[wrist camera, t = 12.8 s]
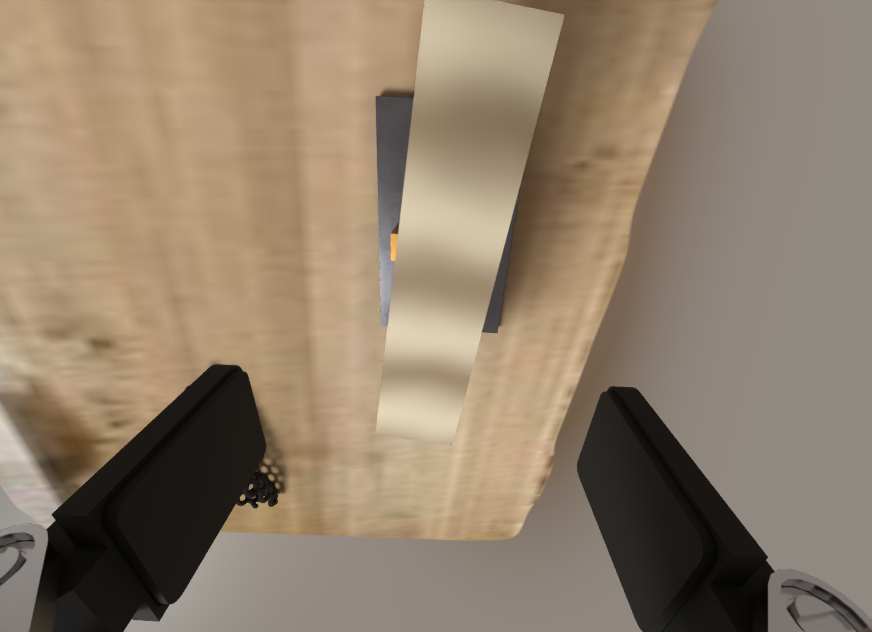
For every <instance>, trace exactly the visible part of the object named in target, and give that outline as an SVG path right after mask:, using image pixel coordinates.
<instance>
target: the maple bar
mask: <svg viewBox="0 0 872 632" xmlns="http://www.w3.org/2000/svg"><path fill="white" fill-rule="evenodd" d="M564 16H565V15H564V14H559V13H554V12H549V11H544V10H540V9H535V8H530V7H525V6H520V5H515V4H511V3H506V2H501V1H496V0H425V3H424V12H423V21H422V29H421V38H420V47H419V56H418V64H417V73H416V82H415V91H414V100H413V108H412V117H411V126H410V135H409V144H408V152H407V161H406V170H405V179H404V188H403V196H402V205H401V214H400V223H399V232H398V240H397V249H396V258H395V267H394V276H393V284H392V293H391V302H390V311H389V320H388V328H387V337H386V346H385V355H384V364H383V372H382V381H381V390H380V399H379V408H378V416H377V425H376V434H375V435H381V436H388V437H395V438H402V439H409V440H415V441H422V442H429V443H436V444H443V445H450V446H452V444H453V440H454V436H455V432H456V429H457V425H458V421H459V417H460V413H461V409H462V406H463V402H464V398H465V394H466V390H467V387H468V383H469V379H470V375H471V371H472V367H473V364H474V360H475V356H476V352H477V348H478V344H479V341H480V337H481V333H482V329H483V325H484V322H485V318H486V314H487V310H488V306H489V302H490V299H491V295H492V291H493V287H494V283H495V280H496V276H497V272H498V268H499V264H500V260H501V257H502V253H503V249H504V245H505V241H506V237H507V234H508V230H509V226H510V222H511V218H512V215H513V211H514V207H515V203H516V199H517V195H518V192H519V188H520V184H521V180H522V176H523V173H524V169H525V165H526V161H527V157H528V153H529V150H530V146H531V142H532V138H533V134H534V131H535V127H536V123H537V119H538V115H539V111H540V108H541V104H542V100H543V96H544V92H545V88H546V85H547V81H548V77H549V73H550V69H551V66H552V62H553V58H554V54H555V50H556V46H557V43H558V39H559V35H560V31H561V27H562V24H563V20H564Z"/></svg>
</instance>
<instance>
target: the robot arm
mask: <svg viewBox="0 0 872 632" xmlns="http://www.w3.org/2000/svg"><path fill="white" fill-rule="evenodd" d="M265 450H266V442H265V438H264V435H263V431H262V427H261V423H260V419H259V415H258V412H257V408H256V404H255V400H254V396H253V392H252V389H251V385H250V381H249V377H248V374H247V373H246V372H244V371H242V369H241V368H240V367H239V366H237V365H220V364H215V365H212V366H211V367H209V368H208V369H207V370H206V371H205V372H204V373H203V374H202V375H201V376H200V377H199V378H198V379H196V380H195V381H194V382H193V383H192V384H191V385H190V386H189V387H188V388H187V389H186V390H185V391H184V392H183V393H181V394H180V395H179V396H178V397H177V398H176V399H175V400H174V401H173V402H172V403H171V404H170V405H169V406H167V407H166V408H165V409H164V410H163V411H162V412H161V413H160V414H159V415H158V416H157V417H156V418H155V419H153V420H152V421H151V422H150V423H149V424H148V425H147V426H146V427H145V428H144V429H143V430H142V431H141V432H140V433H138V434H137V435H136V436H135V437H134V438H133V439H132V440H131V441H130V442H129V443H128V444H127V445H126V446H124V447H123V448H122V449H121V450H120V451H119V452H118V453H117V454H116V455H115V456H114V457H113V458H112V459H111V460H109V461H108V462H107V463H106V464H105V465H104V466H103V467H102V468H101V469H100V470H99V471H98V472H97V473H95V474H94V475H93V476H92V477H91V478H90V479H89V480H88V481H87V482H86V483H85V484H84V485H83V486H81V487H80V488H79V489H78V490H77V491H76V492H75V493H74V494H73V495H72V496H71V497H70V498H69V499H68V500H66V501H65V502H64V503H63V504H62V505H61V506H60V507H59V508H58V509H57V510H56V511H55V512H54V513H52V514H51V515H52V516H53V517H54V519H55V520H56V521H55V522H54V523H53V524H52V525H51V526H50V527H48V528H47V529H45V528H44V527H42V526H41V525H37V524H31V523H29V524H21V525H15V526H11V527H8V528H5V529H2V530H0V632H123V631H124V630H125V628H126V627H127V625H128V624H129V622H130V621H131V619H133V620H145V621H160V619H161V618H162V616H163V614H164V613H165V611H166V610H167V608H168V606H169V605H170V604H173V603H175V602H176V601H177V600H178V599H179V598H180V597H181V595H182V594H183V592H184V590H185V589H186V587H187V585H188V584H189V582H190V580H191V579H192V577H193V575H194V574H195V572H196V570H197V569H198V566H199V565H200V563H201V562H202V560H203V558H204V556H205V555H206V553H207V552H208V550H209V548H210V547H211V545H212V543H213V541H214V540H215V538H216V536H217V535H218V533H219V531H220V530H221V528H222V526H223V525H224V523H225V521H226V520H227V518H228V516H229V514H230V513H231V511H232V509H233V508H234V506H235V504H236V503H237V501H238V499H239V498H240V496H241V494H242V493H243V491H244V489H245V487H246V486H247V484H248V482H249V481H250V479H251V477H252V476H253V474H254V472H255V471H256V469H257V467H258V466H259V464H260V462H261V460H262V459H263V457H264V454H265ZM577 471H578V475H579V478H580V481H581V483H582V485H583V488H584V491H585V493H586V496H587V498H588V501H589V503H590V506H591V508H592V511H593V513H594V516H595V518H596V521H597V523H598V526H599V529H600V531H601V534H602V536H603V539H604V541H605V544H606V546H607V549H608V551H609V554H610V557H611V559H612V562H613V564H614V567H615V569H616V572H617V574H618V577H619V579H620V582H621V584H622V587H623V589H624V592H625V594H626V597H627V599H628V602H629V604H630V607H631V609H632V612H633V615H634V617H635V620H636V622H637V624H638V626H639V628H640V629H641V630H642V631H643V632H872V619H871V618H870V617H869V616H868V615H867V614H866V613H865V612H864V611H863V610H862V609H861V608H860V607H858V606H857V605H856V604H855V603H853V602H852V601H851V600H850V599H848V598H847V597H846V596H845V595H844V594H842V593H841V592H839V591H838V590H836V589H835V588H833V587H832V586H830V585H828V584H827V583H825V582H824V581H822V580H820V579H817V578H815V577H813V576H811V575H809V574H807V573H804V572H800V571H796V570H792V569H778V570H777V571H774V570H773V569H772V568H771V566H770V565H769V564H768V562H767V561H766V559H767V558H768V556H767V555H766V554H765V553H764V551H763V550H762V549H761V548H760V546H759V545H758V544H757V542H756V541H755V540H754V538H753V537H752V536H751V535H750V533H749V532H748V531H747V530H746V529H745V527H744V526H743V524H742V523H741V522H740V520H739V519H738V518H737V517H736V515H735V514H734V513H733V511H732V510H731V509H730V508H729V507H728V505H727V504H726V502H725V501H724V500H723V499H722V497H721V496H720V495H719V493H718V492H717V491H716V490H715V488H714V487H713V486H712V485H711V483H710V482H709V481H708V479H707V478H706V477H705V475H704V474H703V473H702V472H701V470H700V469H699V468H698V466H697V465H696V464H695V463H694V461H693V460H692V459H691V457H690V456H689V455H688V454H687V452H686V451H685V450H684V449H683V447H682V446H681V445H680V443H679V442H678V441H677V439H676V438H675V437H674V436H673V434H672V433H671V432H670V430H669V429H668V428H667V427H666V425H665V424H664V423H663V421H662V420H661V419H660V418H659V416H658V415H657V414H656V412H655V411H654V410H653V408H652V407H651V406H650V405H649V403H648V402H647V401H646V400H645V398H644V397H643V396H642V394H641V393H640V392H639V391H638V390H637V389H636V388H633V387H615V386H612V387H610V388H609V389H608V390H607V392H603V393H602V394H601V395H600V398H599V401H598V404H597V407H596V410H595V413H594V415H593V418H592V421H591V424H590V427H589V430H588V433H587V436H586V439H585V442H584V445H583V448H582V451H581V453H580V456H579V459H578V463H577Z"/></svg>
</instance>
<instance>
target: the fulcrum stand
mask: <svg viewBox="0 0 872 632" xmlns="http://www.w3.org/2000/svg"><path fill="white" fill-rule="evenodd" d="M413 100H414V98H401V97H384V96H376V130H377V171H378V213H379V254H380V296H381V326H388V320H389V311H390V302H391V293H392V284H393V276H394V267H395V258H396V249H397V240H398V232H399V223H400V214H401V205H402V196H403V188H404V179H405V170H406V161H407V152H408V144H409V135H410V126H411V117H412V108H413ZM519 191H520V188H519ZM518 197H519V192H518V195H517V199H516V203H515V207H514V211H513V215H512V218H511V222H510V226H509V230H508V234H507V237H506V241H505V245H504V249H503V253H502V257H501V260H500V264H499V268H498V272H497V276H496V280H495V283H494V287H493V291H492V295H491V299H490V302H489V306H488V310H487V314H486V318H485V322H484V325H483V329H482V332H486V333H497V332H498V325H499V319H500V313H501V306H502V300H503V293H504V287H505V281H506V274H507V268H508V261H509V255H510V248H511V242H512V236H513V229H514V223H515V216H516V210H517V203H518Z"/></svg>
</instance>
